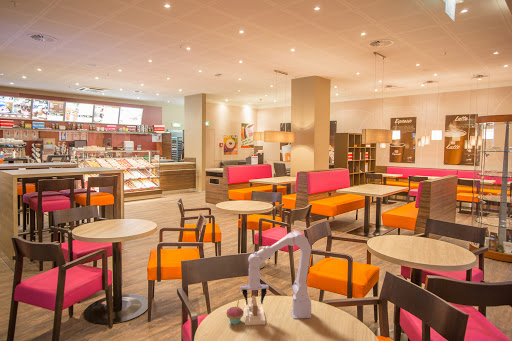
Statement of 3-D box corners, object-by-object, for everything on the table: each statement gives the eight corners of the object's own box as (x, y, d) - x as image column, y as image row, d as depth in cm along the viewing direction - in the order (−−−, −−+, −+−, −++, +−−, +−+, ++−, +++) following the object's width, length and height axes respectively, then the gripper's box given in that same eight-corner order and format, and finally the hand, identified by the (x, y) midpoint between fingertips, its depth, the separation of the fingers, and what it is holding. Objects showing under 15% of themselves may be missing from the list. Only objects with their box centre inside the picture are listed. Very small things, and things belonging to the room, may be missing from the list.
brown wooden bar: (255, 304, 167) (255, 295, 166) (257, 315, 156) (257, 306, 155) (251, 305, 166) (251, 295, 166) (252, 316, 155) (252, 306, 155)
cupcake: (244, 317, 161) (244, 295, 160) (242, 327, 153) (242, 303, 152) (228, 316, 162) (228, 294, 161) (224, 326, 154) (224, 302, 153)
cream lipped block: (262, 310, 168) (262, 302, 168) (265, 324, 155) (265, 314, 155) (243, 311, 167) (243, 302, 167) (245, 325, 154) (245, 315, 154)
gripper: (267, 274, 164) (267, 299, 165) (239, 275, 163) (239, 300, 164) (269, 279, 157) (269, 305, 158) (240, 280, 156) (240, 307, 157)
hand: (254, 303), depth 161 cm, fingers open, 7 cm apart
